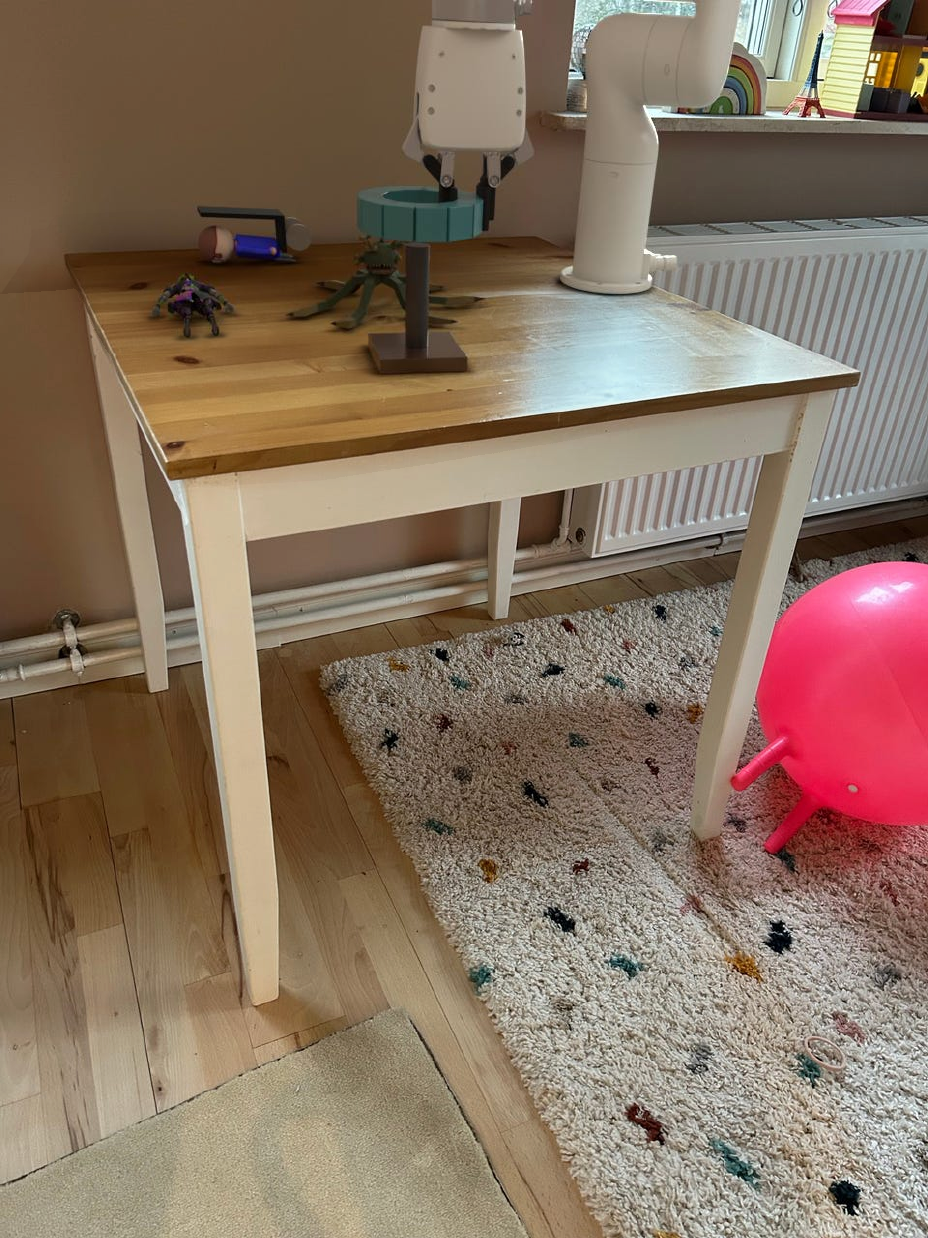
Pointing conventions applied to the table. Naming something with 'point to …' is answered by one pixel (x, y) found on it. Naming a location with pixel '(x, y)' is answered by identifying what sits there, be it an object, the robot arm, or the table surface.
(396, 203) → the ring
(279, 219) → the figurine character
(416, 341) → the stand
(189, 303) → the character figure
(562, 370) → the table surface
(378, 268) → the octopus toy
